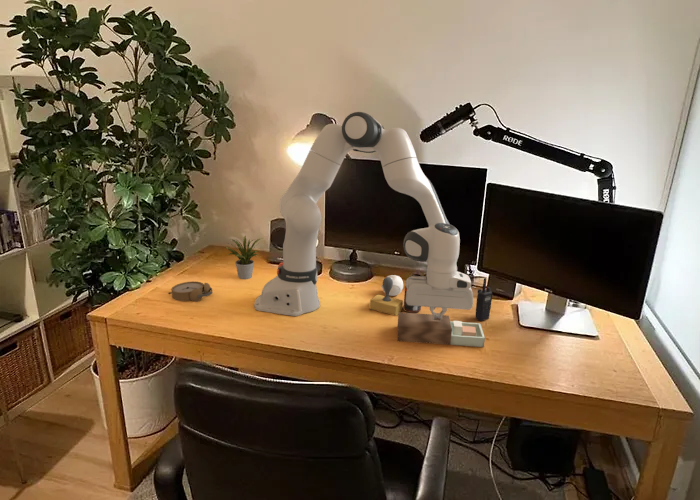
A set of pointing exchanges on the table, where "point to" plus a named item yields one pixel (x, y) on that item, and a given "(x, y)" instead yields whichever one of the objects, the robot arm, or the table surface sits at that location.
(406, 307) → the supplement bottle
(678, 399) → the table surface
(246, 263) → the house plant
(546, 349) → the table surface
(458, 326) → the cream tile
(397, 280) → the motion sensor
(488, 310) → the two-way radio
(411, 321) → the dark wooden box
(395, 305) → the rubber stamp
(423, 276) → the robot arm
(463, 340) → the tray
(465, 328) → the terracotta tile
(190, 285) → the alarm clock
